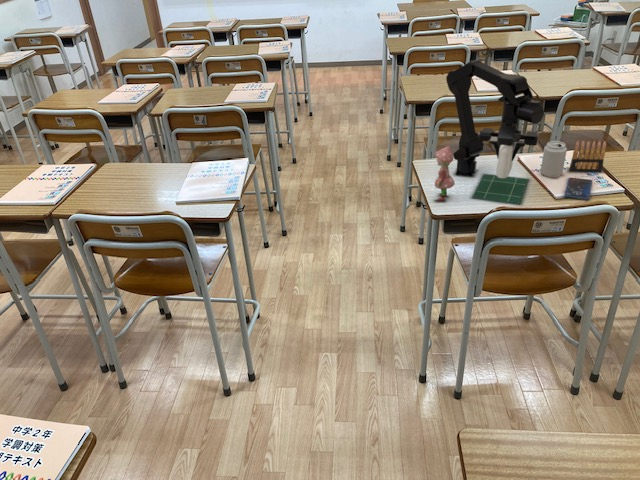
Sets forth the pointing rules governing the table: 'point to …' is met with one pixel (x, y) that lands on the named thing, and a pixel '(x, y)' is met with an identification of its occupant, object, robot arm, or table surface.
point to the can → (553, 159)
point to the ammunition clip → (588, 158)
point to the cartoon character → (444, 171)
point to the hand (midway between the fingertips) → (505, 159)
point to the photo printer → (505, 160)
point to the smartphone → (578, 188)
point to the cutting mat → (501, 189)
